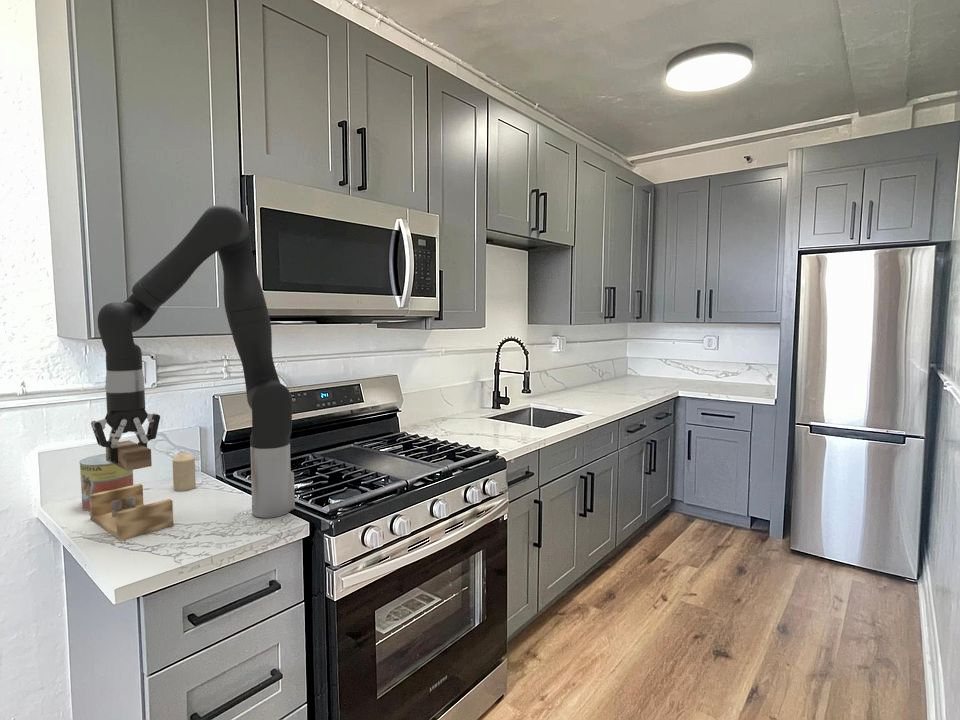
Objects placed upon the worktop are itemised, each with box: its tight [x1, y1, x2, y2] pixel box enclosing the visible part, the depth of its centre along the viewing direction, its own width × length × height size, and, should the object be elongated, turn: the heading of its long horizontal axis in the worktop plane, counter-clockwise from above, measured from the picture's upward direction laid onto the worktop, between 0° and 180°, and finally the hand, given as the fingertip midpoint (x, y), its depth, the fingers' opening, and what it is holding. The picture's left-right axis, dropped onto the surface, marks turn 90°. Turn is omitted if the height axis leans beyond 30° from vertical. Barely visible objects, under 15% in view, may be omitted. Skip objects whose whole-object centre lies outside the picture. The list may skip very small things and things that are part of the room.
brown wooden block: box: [105, 440, 153, 471], centre depth 128 cm, size 13×5×4 cm, turn 52°
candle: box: [172, 452, 197, 492], centre depth 153 cm, size 6×6×10 cm
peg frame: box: [89, 483, 174, 541], centre depth 129 cm, size 11×19×6 cm, turn 52°
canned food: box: [78, 453, 134, 513], centre depth 140 cm, size 11×11×12 cm
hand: (128, 460), depth 128 cm, fingers closed on brown wooden block, 5 cm apart
